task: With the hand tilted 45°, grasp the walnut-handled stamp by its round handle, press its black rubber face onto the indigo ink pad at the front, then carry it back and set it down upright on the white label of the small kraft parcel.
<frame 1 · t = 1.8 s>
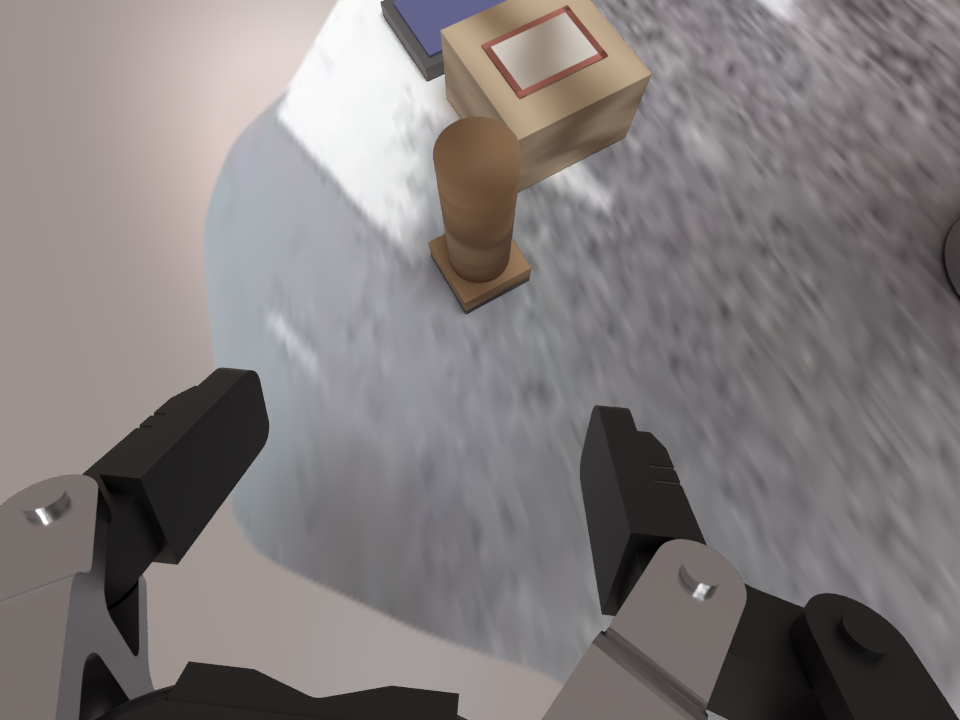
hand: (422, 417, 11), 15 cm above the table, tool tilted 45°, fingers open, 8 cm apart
parcel: (534, 117, 31), on the table
ink pad: (464, 20, 33), on the table
stamp: (479, 268, 28), on the table
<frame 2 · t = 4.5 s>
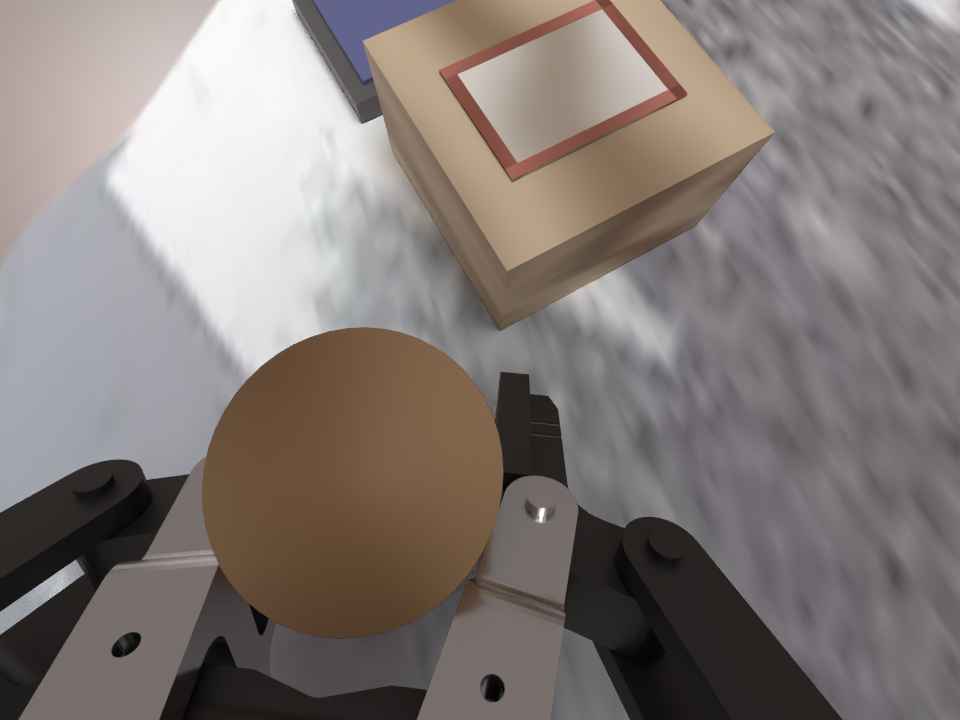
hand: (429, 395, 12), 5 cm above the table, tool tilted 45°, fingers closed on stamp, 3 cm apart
parcel: (540, 188, 18), on the table
ink pad: (427, 23, 21), on the table
stamp: (437, 475, 16), on the table, touching gripper
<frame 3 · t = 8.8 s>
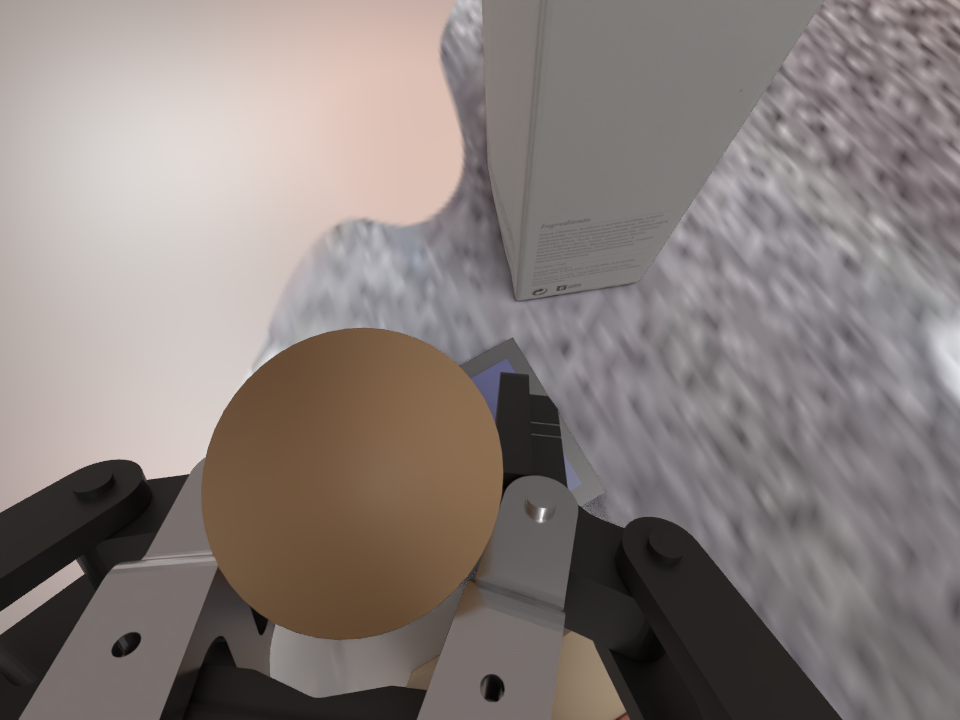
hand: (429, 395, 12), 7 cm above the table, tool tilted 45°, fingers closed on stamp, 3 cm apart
skincare box: (554, 216, 21), on the table
ink pad: (448, 474, 18), on the table
stamp: (437, 475, 16), point 3 cm above the table, touching gripper
when the fingers open (10 cm above the table, at t = 13.4 s): stamp stays where it is, resting on parcel.
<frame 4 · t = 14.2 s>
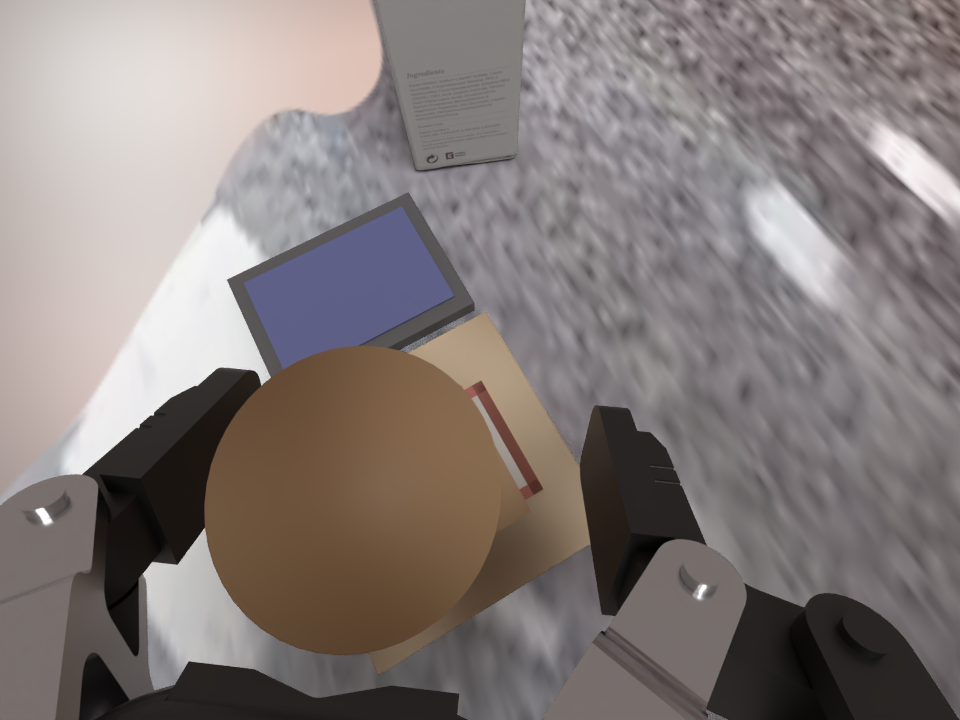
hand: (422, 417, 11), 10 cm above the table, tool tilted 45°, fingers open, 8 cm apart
parcel: (448, 476, 21), on the table
skincare box: (453, 109, 26), on the table
ink pad: (355, 298, 23), on the table
stamp: (437, 481, 16), point 5 cm above the table, touching parcel
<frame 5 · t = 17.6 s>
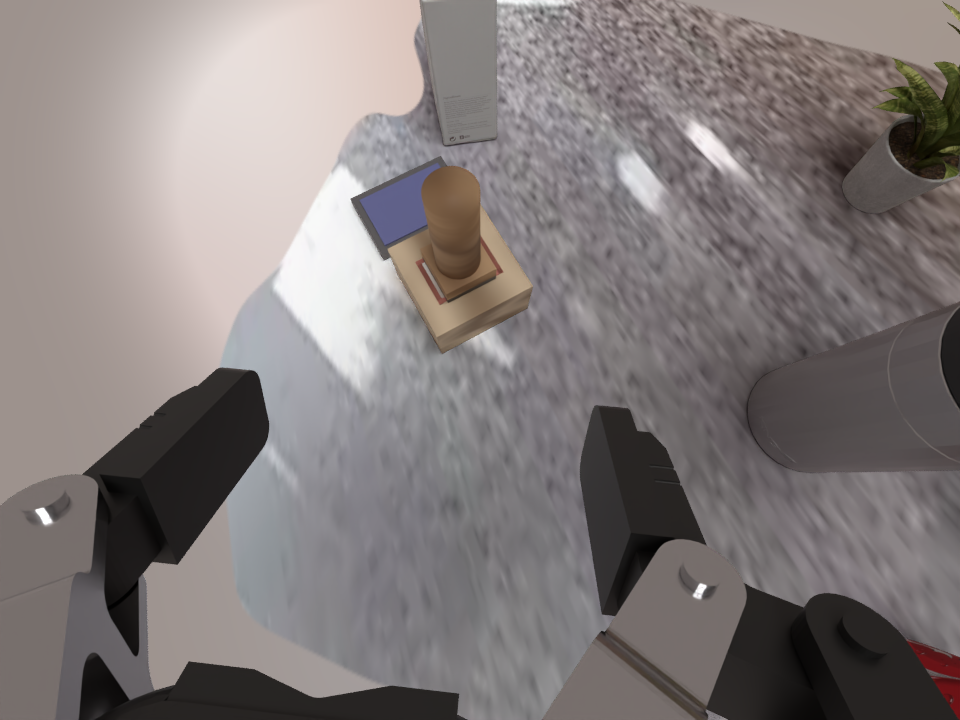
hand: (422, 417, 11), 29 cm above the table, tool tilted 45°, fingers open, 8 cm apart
parcel: (461, 291, 43), on the table
skincare box: (463, 113, 48), on the table
ink pad: (413, 210, 45), on the table
house plant: (873, 183, 46), on the table
soda can: (886, 680, 34), on the table
stamp: (459, 268, 38), point 5 cm above the table, touching parcel
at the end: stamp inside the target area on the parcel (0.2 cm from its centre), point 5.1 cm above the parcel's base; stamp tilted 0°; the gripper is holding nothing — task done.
